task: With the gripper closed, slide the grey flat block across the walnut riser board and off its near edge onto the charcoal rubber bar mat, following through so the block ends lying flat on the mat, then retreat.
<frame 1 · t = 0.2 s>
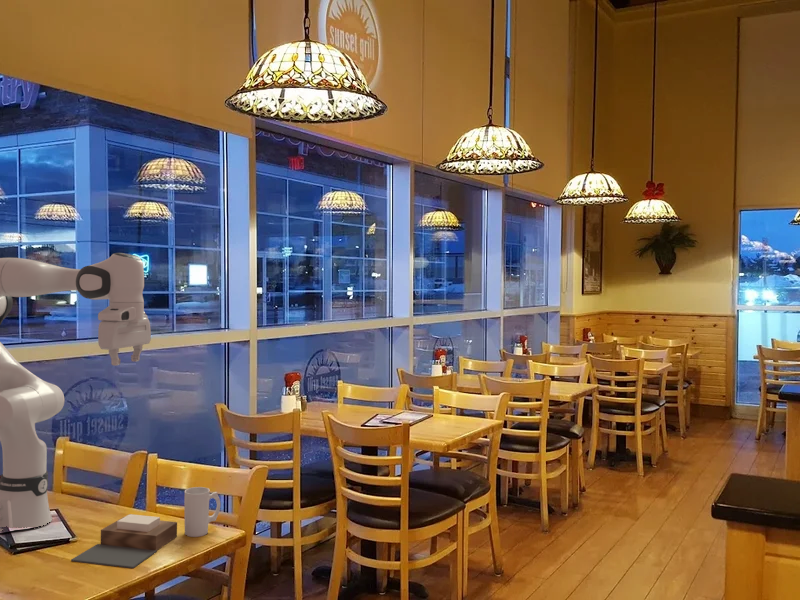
hand: (125, 363, 202), 47 cm above the table, tool pointing down, fingers open, 8 cm apart
mug: (202, 533, 206), on the table
riser board: (139, 540, 199), on the table
grey flat block: (138, 526, 198), point 4 cm above the table, touching riser board
bar mat: (114, 556, 187), on the table
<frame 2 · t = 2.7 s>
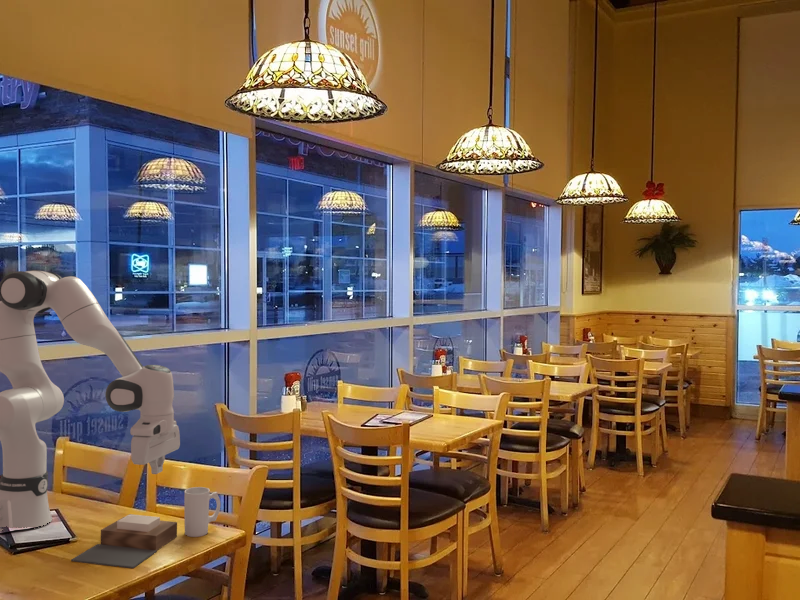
hand: (157, 472, 206), 16 cm above the table, tool pointing down, fingers closed
nothing on the table moved.
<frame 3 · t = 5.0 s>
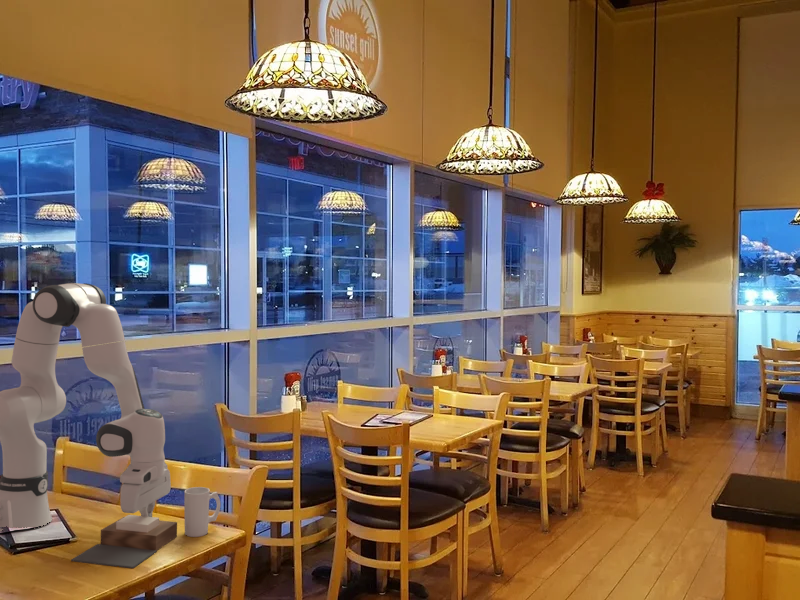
hand: (146, 519, 202), 5 cm above the table, tool pointing down, fingers closed
grey flat block: (137, 527, 197), point 4 cm above the table, touching gripper
everything else where it was.
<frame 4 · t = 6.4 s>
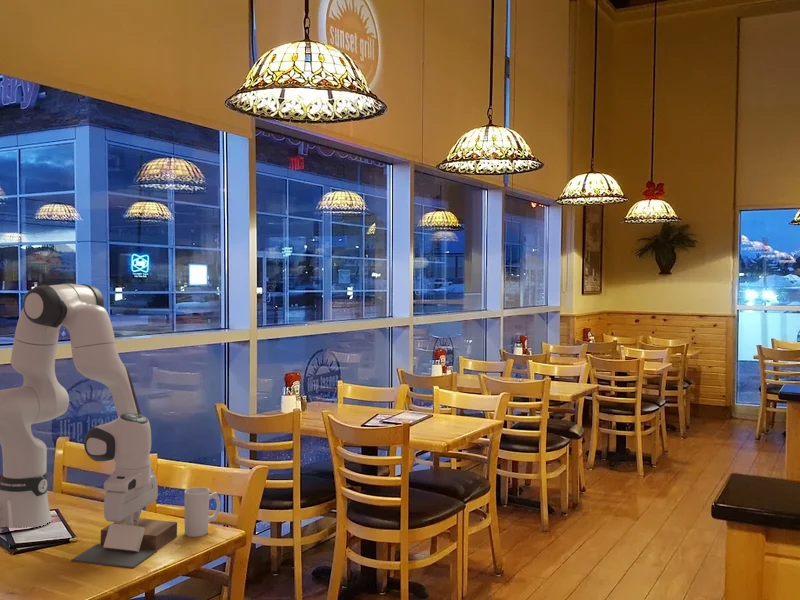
hand: (132, 527, 195), 5 cm above the table, tool pointing down, fingers closed
grey flat block: (126, 538, 192), point 3 cm above the table, tilted 60°, touching bar mat, gripper
everything else where it was.
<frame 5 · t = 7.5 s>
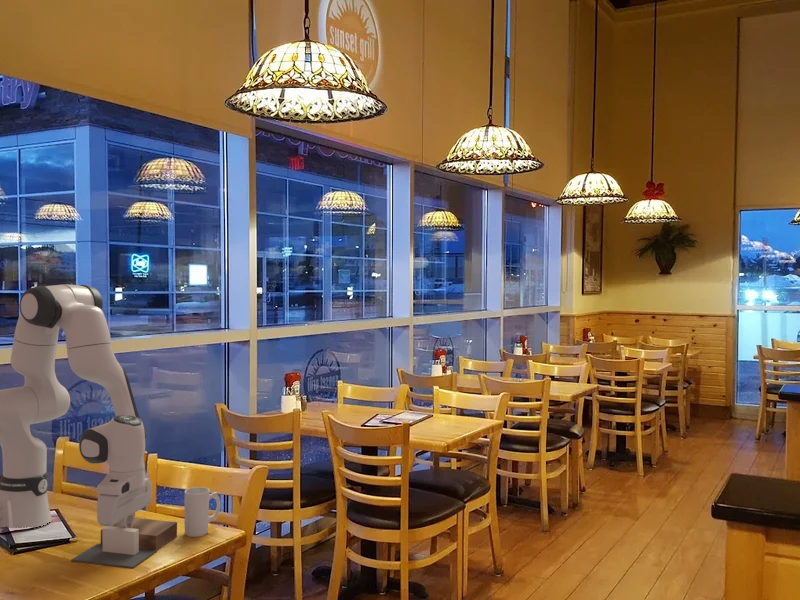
hand: (125, 531, 192), 5 cm above the table, tool pointing down, fingers closed
grey flat block: (122, 538, 190), point 3 cm above the table, tilted 92°, touching bar mat
everything else where it was.
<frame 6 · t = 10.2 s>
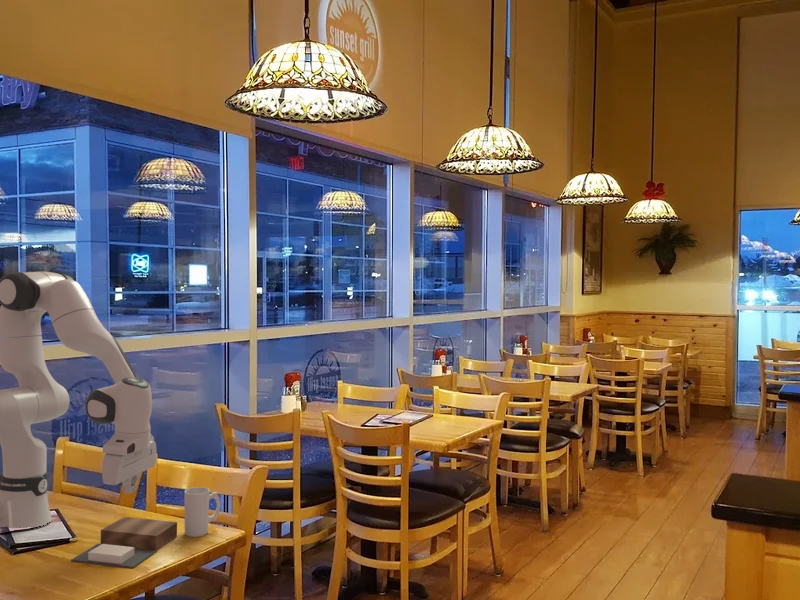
hand: (129, 492, 195), 14 cm above the table, tool pointing down, fingers closed
grey flat block: (111, 549, 185), point 2 cm above the table, tilted 180°, touching bar mat
everything else where it was.
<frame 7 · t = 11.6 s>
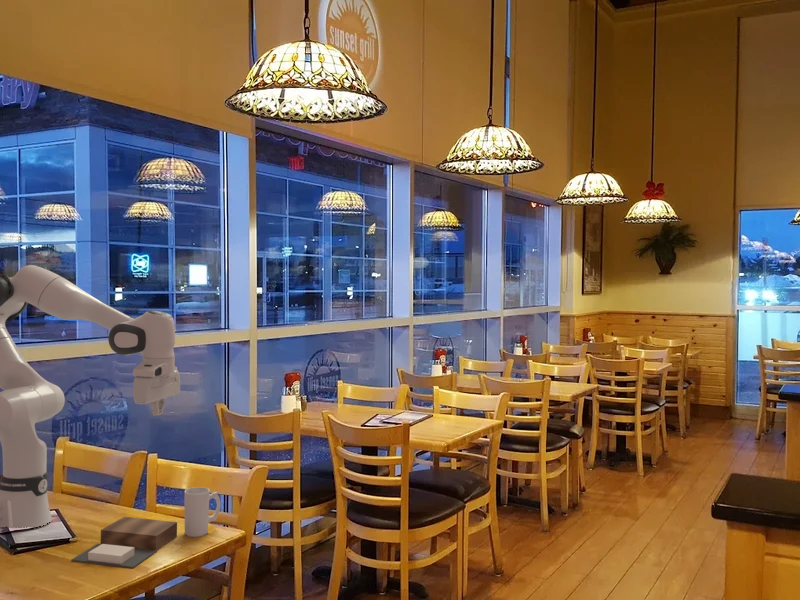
hand: (157, 414, 213), 31 cm above the table, tool pointing down, fingers closed
nothing on the table moved.
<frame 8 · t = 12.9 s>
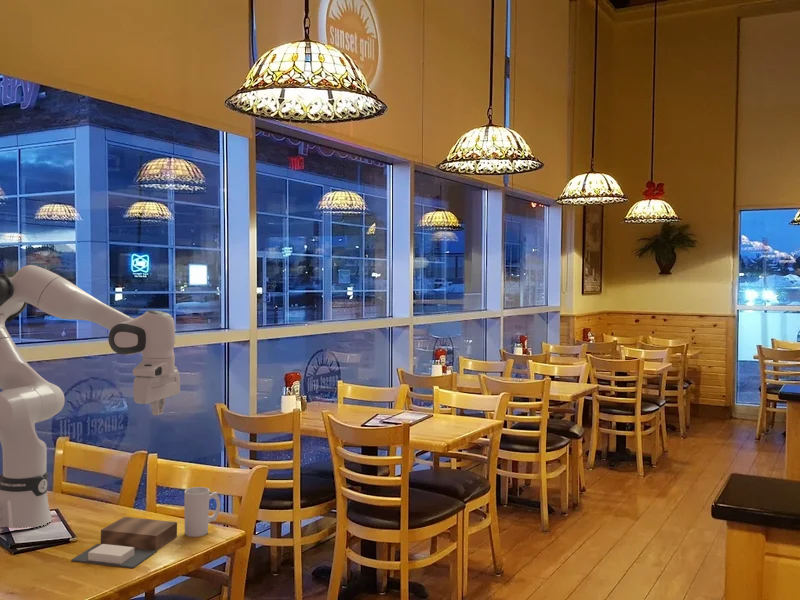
hand: (157, 414, 213), 31 cm above the table, tool pointing down, fingers closed
nothing on the table moved.
at the end: grey flat block point 2.4 cm above the table; grey flat block inside the target area on the bar mat (1.8 cm from its centre), point 2.4 cm above the bar mat's base; grey flat block touching bar mat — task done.
